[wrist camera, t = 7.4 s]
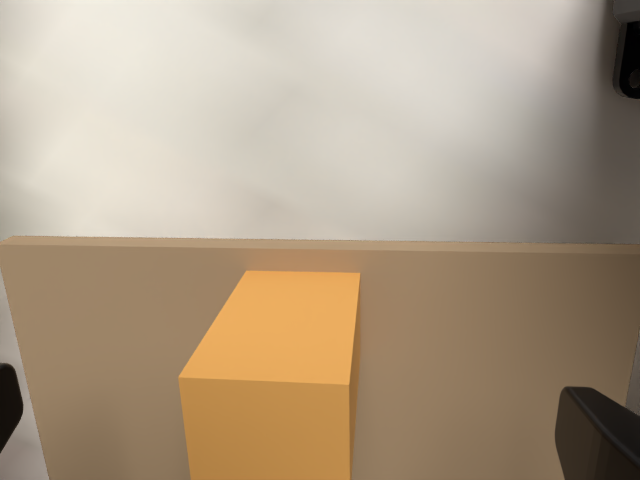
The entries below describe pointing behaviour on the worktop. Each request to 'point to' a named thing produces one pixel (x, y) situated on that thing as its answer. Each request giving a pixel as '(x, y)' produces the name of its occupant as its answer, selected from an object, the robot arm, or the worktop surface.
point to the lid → (314, 354)
